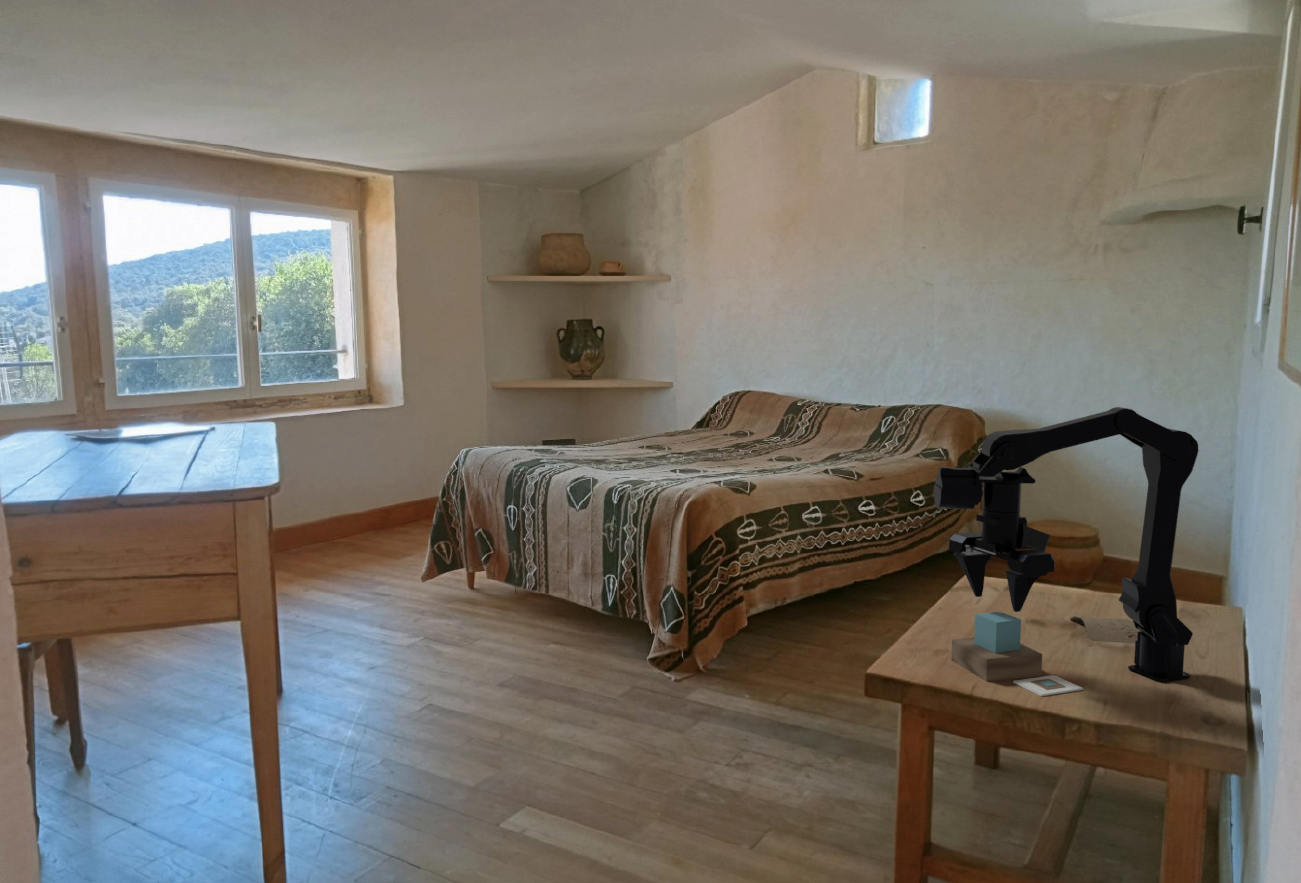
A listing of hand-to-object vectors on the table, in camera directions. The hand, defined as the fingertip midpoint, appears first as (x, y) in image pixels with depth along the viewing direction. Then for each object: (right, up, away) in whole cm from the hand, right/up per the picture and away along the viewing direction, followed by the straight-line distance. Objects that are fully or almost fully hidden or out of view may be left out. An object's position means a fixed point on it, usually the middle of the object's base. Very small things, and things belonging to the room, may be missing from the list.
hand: (997, 603), depth 150 cm
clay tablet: (+28, -10, +20) cm, 36 cm away
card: (+5, -12, -7) cm, 15 cm away
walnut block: (0, -11, +1) cm, 11 cm away
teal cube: (0, -7, +1) cm, 7 cm away
